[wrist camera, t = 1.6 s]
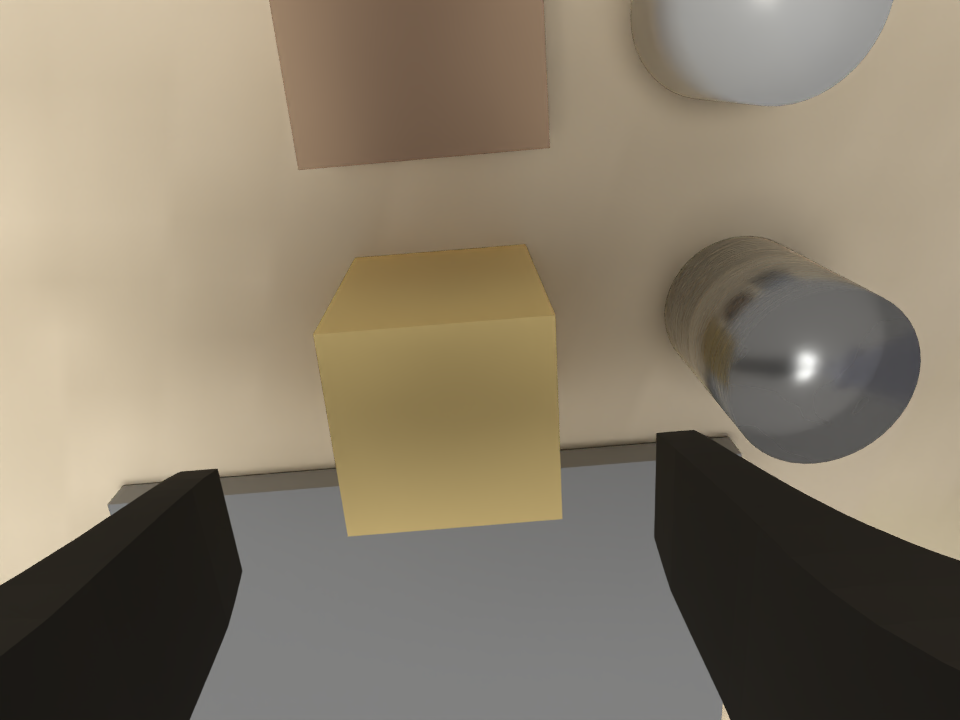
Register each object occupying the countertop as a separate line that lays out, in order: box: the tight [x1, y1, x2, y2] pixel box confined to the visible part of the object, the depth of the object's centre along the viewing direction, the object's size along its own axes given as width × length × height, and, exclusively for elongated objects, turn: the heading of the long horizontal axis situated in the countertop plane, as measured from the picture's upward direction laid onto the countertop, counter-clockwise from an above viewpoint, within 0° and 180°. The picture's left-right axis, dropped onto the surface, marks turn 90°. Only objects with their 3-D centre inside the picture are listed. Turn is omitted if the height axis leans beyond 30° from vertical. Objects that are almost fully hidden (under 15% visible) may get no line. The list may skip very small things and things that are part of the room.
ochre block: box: [313, 244, 562, 537], centre depth 17 cm, size 4×4×6 cm
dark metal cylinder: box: [665, 236, 921, 464], centre depth 17 cm, size 4×4×5 cm
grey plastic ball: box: [631, 0, 893, 106], centre depth 15 cm, size 4×4×4 cm
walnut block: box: [269, 0, 550, 170], centre depth 15 cm, size 5×5×4 cm
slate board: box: [108, 437, 741, 720], centre depth 23 cm, size 18×12×1 cm, turn 94°
